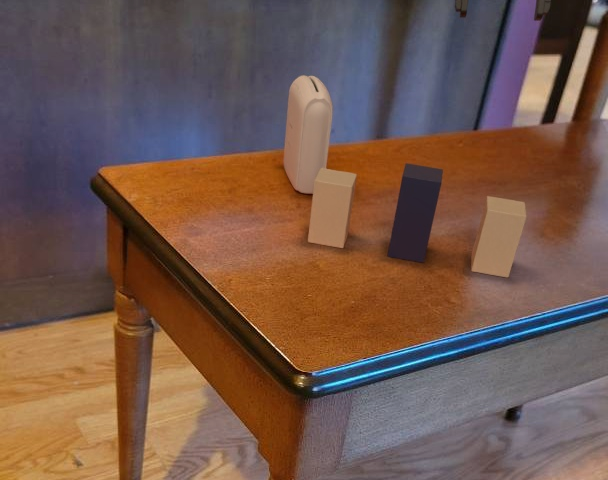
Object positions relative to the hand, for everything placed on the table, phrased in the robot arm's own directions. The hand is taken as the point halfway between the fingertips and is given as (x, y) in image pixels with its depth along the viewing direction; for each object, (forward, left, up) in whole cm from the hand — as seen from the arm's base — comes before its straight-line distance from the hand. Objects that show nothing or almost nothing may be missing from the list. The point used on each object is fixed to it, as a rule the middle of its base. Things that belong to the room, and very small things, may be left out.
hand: (500, 17), depth 85 cm
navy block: (+5, +21, -21) cm, 30 cm away
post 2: (-4, +21, -21) cm, 30 cm away
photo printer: (+20, +5, -21) cm, 30 cm away
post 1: (+14, +21, -21) cm, 33 cm away
